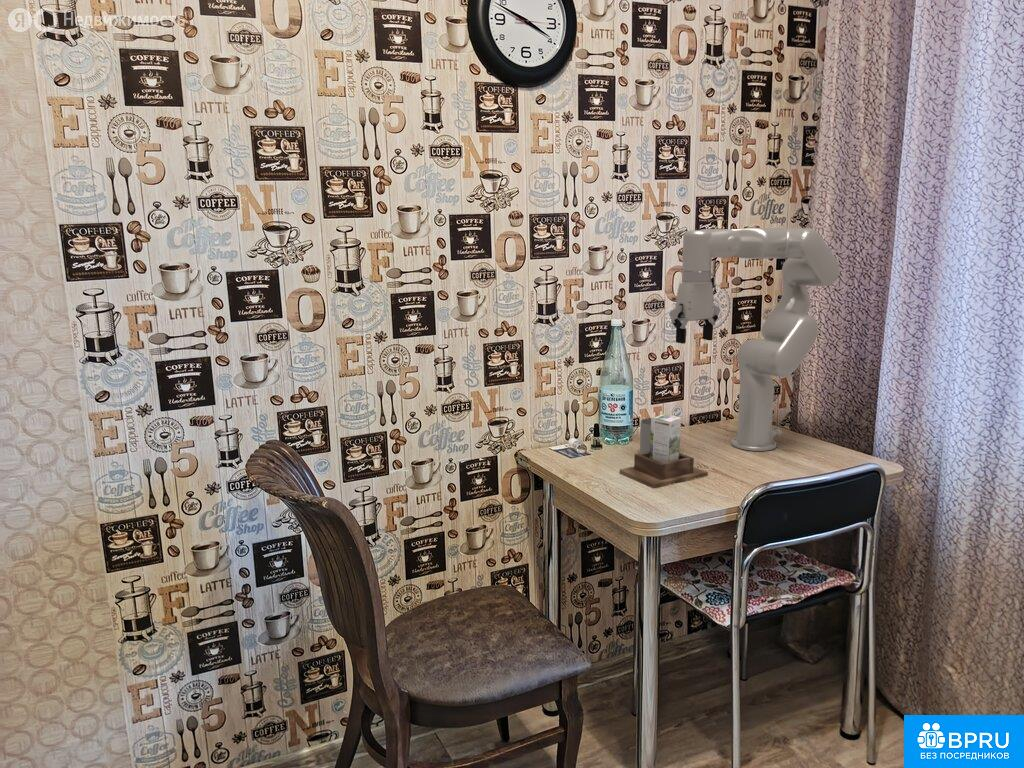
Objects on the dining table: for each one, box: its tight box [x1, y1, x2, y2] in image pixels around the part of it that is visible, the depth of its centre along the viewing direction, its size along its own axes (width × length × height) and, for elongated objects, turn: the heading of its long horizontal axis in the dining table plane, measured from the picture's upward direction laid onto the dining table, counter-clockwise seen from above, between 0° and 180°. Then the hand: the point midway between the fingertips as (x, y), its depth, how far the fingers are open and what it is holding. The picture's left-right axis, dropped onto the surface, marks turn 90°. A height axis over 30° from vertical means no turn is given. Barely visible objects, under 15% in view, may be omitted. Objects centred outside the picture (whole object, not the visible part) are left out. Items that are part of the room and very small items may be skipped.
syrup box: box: [650, 413, 682, 463], centre depth 197 cm, size 6×6×14 cm
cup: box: [639, 417, 653, 453], centre depth 213 cm, size 8×8×10 cm
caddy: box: [619, 451, 709, 489], centre depth 198 cm, size 18×14×5 cm
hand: (694, 341), depth 204 cm, fingers open, 9 cm apart
